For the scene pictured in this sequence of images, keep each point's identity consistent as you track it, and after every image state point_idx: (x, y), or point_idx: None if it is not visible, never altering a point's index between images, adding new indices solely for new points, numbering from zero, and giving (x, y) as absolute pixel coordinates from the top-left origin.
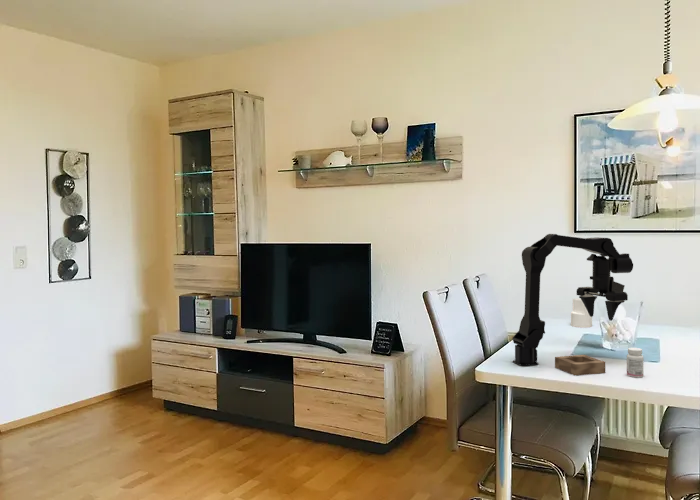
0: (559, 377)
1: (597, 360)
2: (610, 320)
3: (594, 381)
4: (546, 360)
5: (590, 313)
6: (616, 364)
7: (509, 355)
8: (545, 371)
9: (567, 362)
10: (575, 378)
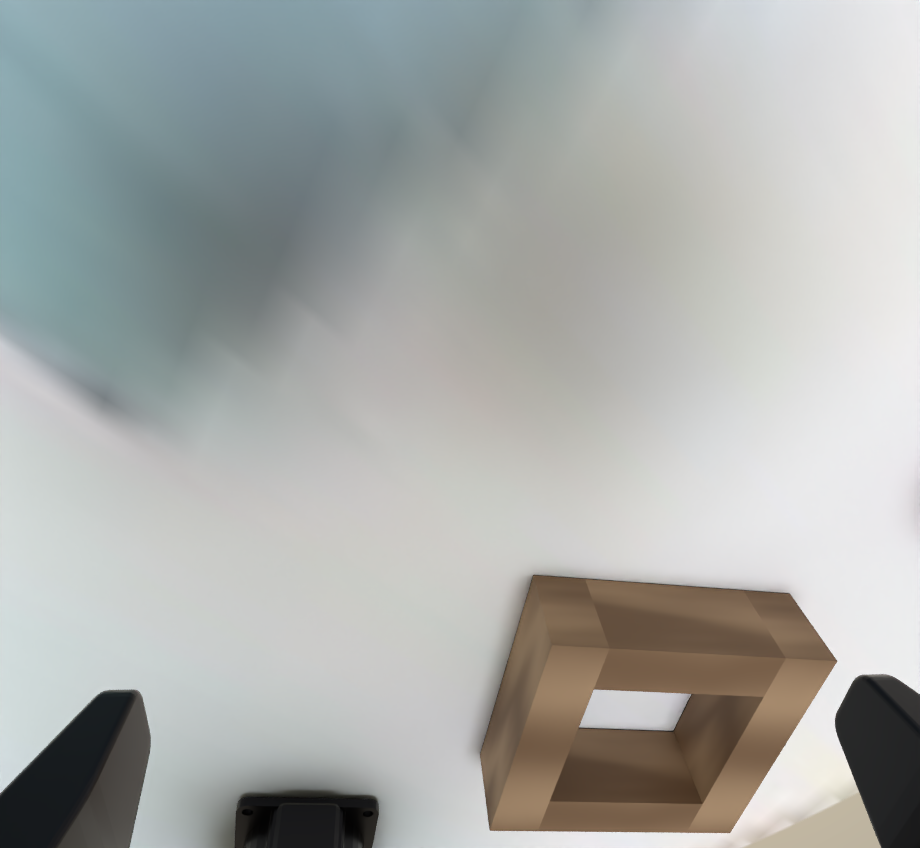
0: None
1: (765, 678)
2: (863, 711)
3: None
4: (271, 705)
5: (121, 841)
6: (683, 327)
7: None
8: None
9: (643, 826)
10: None
